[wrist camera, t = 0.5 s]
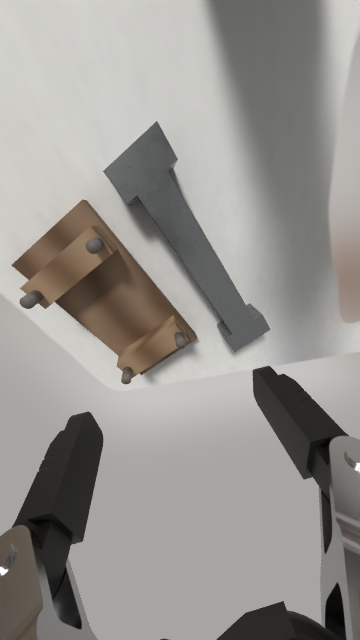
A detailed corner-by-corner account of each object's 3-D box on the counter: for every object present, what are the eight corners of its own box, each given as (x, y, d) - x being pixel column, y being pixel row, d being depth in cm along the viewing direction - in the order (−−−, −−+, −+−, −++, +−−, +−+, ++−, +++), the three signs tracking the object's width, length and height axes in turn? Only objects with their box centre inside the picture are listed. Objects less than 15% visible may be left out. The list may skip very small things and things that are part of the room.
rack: (86, 200, 21) (63, 195, 16) (195, 332, 31) (205, 359, 26) (19, 262, 23) (-23, 277, 18) (141, 368, 33) (139, 400, 28)
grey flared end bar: (155, 137, 20) (156, 121, 16) (257, 316, 32) (270, 329, 28) (110, 178, 21) (103, 171, 17) (225, 336, 33) (234, 351, 29)
